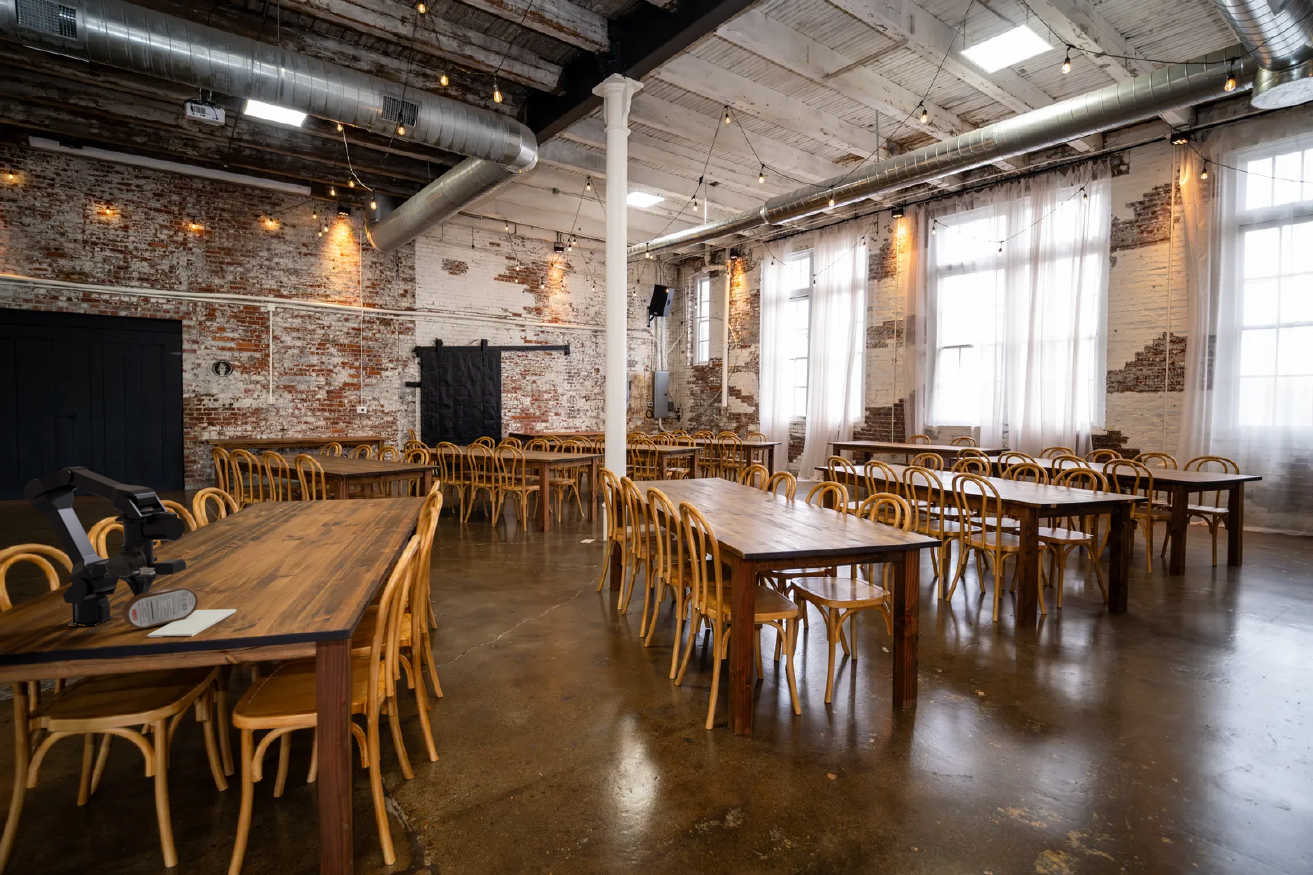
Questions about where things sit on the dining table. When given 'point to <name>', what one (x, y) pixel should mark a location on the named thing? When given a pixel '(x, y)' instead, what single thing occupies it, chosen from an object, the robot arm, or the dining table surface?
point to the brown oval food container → (160, 606)
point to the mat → (192, 623)
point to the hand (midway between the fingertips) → (140, 601)
